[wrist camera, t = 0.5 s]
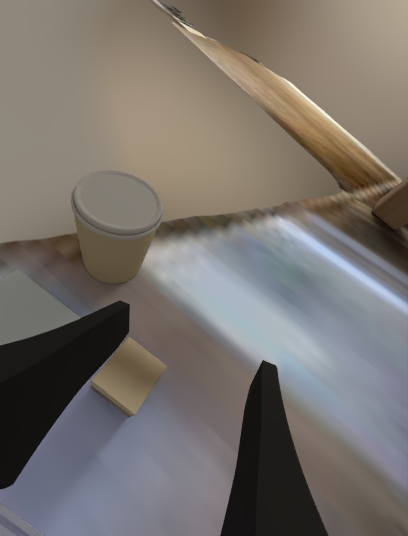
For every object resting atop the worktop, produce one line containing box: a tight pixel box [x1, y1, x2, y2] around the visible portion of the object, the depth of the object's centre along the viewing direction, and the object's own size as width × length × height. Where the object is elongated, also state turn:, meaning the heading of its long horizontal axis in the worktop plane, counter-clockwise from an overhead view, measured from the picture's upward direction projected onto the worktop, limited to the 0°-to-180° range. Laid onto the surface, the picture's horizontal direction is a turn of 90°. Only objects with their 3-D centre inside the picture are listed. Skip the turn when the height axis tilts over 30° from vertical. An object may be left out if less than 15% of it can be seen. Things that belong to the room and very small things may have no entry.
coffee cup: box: [71, 171, 163, 284], centre depth 29 cm, size 9×9×12 cm
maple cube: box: [91, 337, 167, 417], centre depth 25 cm, size 5×5×5 cm
